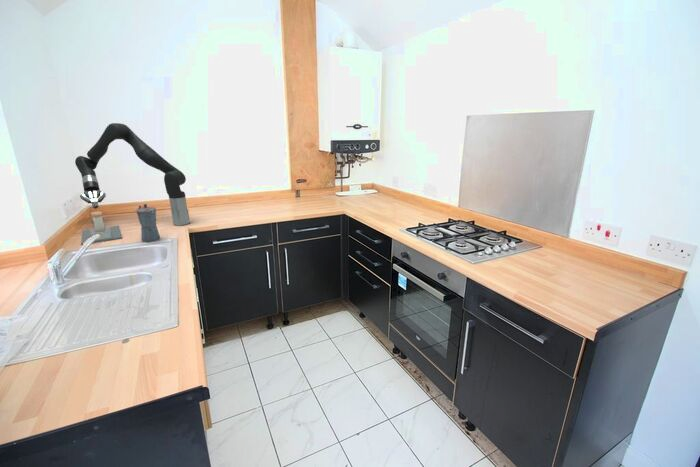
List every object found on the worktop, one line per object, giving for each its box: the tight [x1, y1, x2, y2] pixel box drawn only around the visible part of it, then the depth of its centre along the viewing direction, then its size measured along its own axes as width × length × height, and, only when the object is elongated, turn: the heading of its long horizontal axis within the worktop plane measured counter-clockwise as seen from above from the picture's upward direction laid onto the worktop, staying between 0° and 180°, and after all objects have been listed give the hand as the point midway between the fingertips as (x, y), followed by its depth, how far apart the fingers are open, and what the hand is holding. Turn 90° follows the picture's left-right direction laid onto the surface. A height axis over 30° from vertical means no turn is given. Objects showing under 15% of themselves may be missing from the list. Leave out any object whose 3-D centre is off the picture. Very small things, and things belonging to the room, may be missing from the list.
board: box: [80, 224, 123, 246], centre depth 193 cm, size 28×18×1 cm, turn 36°
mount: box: [89, 225, 112, 241], centre depth 186 cm, size 12×9×4 cm
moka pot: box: [135, 203, 161, 243], centre depth 183 cm, size 10×15×20 cm, turn 58°
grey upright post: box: [90, 210, 105, 232], centre depth 186 cm, size 5×5×13 cm
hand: (95, 207), depth 199 cm, fingers closed
